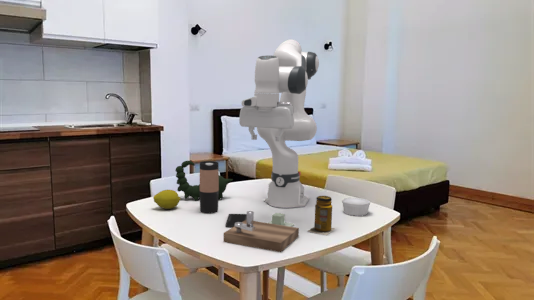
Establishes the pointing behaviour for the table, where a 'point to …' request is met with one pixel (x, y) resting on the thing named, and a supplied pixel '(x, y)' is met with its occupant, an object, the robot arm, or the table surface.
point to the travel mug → (209, 186)
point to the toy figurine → (195, 190)
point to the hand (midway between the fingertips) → (265, 140)
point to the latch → (249, 224)
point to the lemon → (167, 199)
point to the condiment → (323, 216)
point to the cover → (280, 220)
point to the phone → (235, 219)
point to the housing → (263, 236)
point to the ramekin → (355, 206)
